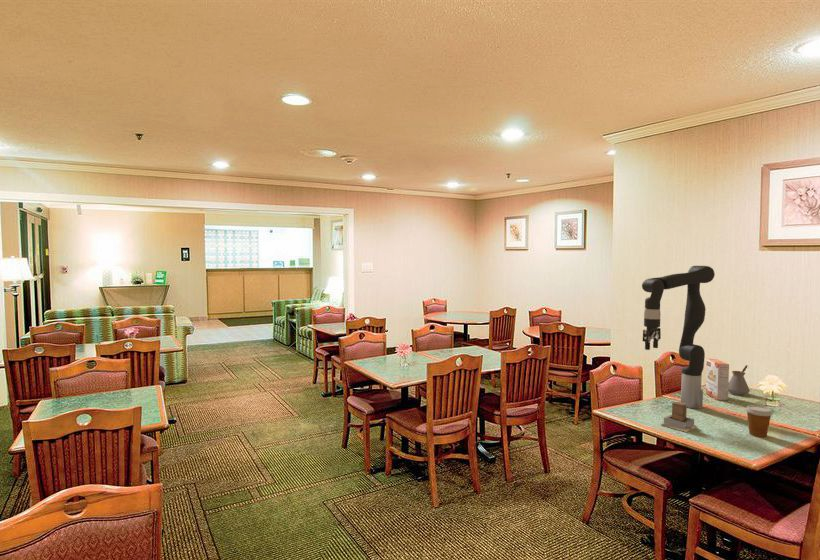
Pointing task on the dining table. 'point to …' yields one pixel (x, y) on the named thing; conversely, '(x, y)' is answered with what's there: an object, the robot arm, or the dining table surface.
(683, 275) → the robot arm
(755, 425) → the disposable coffee cup
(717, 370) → the cracker box
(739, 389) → the coffee pot
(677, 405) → the block
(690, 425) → the gray square tray
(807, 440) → the dining table surface
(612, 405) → the dining table surface
